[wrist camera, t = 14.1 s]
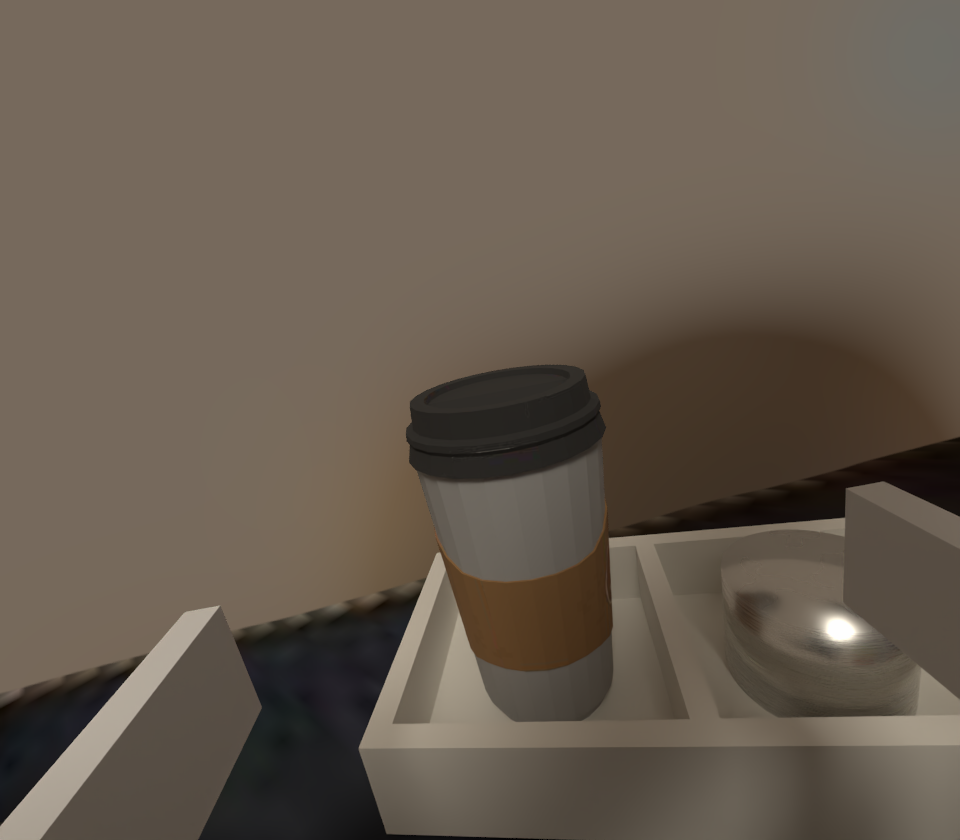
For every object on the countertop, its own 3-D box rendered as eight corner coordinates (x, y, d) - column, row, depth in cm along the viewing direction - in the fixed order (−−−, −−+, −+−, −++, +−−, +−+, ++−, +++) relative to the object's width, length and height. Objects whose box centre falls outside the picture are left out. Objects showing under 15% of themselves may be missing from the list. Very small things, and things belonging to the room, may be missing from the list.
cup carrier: (878, 586, 26) (882, 514, 25) (1164, 857, 14) (1198, 743, 13) (450, 612, 31) (436, 553, 30) (386, 833, 19) (358, 748, 18)
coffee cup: (664, 742, 19) (627, 388, 15) (464, 771, 20) (377, 434, 16) (609, 608, 27) (575, 353, 23) (467, 631, 28) (411, 384, 24)
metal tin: (851, 610, 24) (855, 523, 23) (968, 740, 17) (982, 627, 16) (705, 618, 25) (700, 536, 24) (761, 741, 19) (758, 637, 17)
